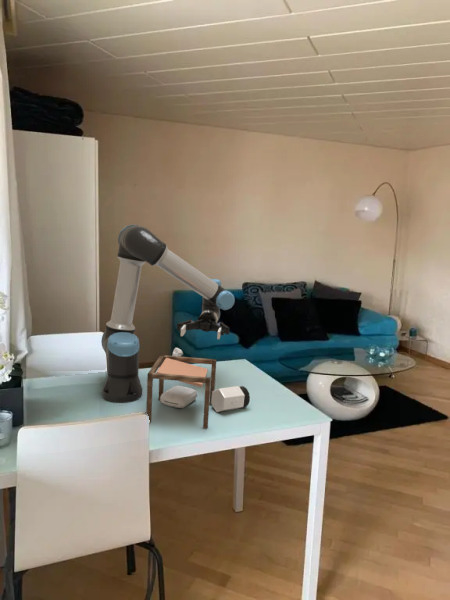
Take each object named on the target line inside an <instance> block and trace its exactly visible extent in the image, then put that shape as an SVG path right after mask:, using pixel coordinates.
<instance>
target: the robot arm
mask: <svg viewBox="0 0 450 600" xmlns="http://www.w3.org/2000/svg"><path fill="white" fill-rule="evenodd" d="M117 241H118V250H117V256H116V257H117V259H118V260H119V267H118V268H119V269H118V274H117V281H116V285H115V292H114V297H113V304H112V310H111V311H112V312H111V317H110V320H108V321H107V322H106V324H105V328H104V332H103V334H102V336H101V341H100V342H101V346H102V349H103V351H104V353H105V355H106V357H107V358H106V359H107V360H106V361H107V368H106V370H107V371H106V373H107V375H106V378H105V381H104V384H103V386H102V390H101V392H102V394H101V396H102V398H103V399H104V400H106V401H109V402H113V403H130V402H134V401H136V400H139V399H141V398H142V397H143V385H142V383H141V379H140V377H139V365H140V364H139V363H140V362H139V360H140V359H139V358H140V347H141V346H140V339H139V337H138V336H137V335H136V334H135V332H136V331H135V330H136V327H135V325H134V324H133V321H134V314H135V308H136V303H137V297H138V292H139V291H138V290H139V286H140V285H139V284H140V280H141V275H142V269H143V265H145V264H146V263H148V264H149V265H150V266H152V267H155V266H157V267H158V268H160V269H161V270H162V271H164V272H165V273H167V274H168V275H170V276H172V277H173V278H174V279H176V280H178V282H180V283H182V284H183V285H185V286H186V287H188V288H190V290H192V291H194V292H195V293H197V294H198V295H200V296H201V297H202V305H201V314H200V315H199V316H198V318H197V320H194V321H193V319H191V318H190V319H188V320H186V321H182V322H178V323H177V324H176V330H177V331H179V332H180V337H183V336H184V335H185V334H186V331H193V330H196V331H197V330H201V331H202V332H206V333H208V332H216V333H217V337H216V339H217V340H220V338H221V336H224V335H230V327H229V326H228V325H227V324H225V323H224V322H223V321H219V319H220V318H221V311H220V310H223V311H227V310H229V309H232V307H233V306H234V305H235V300H236V299H235V295H234V294H233V293H232V292H230V290H226V289H225V287H223V286H222V282H221V280H220V279H216V278H210V277H208V276H207V275H205V274H204V273H203V272H202V271H200V270H199V269H197V268H195V267H194V266H193V265H192V264H190V263H189V262H187V261H186V260H185V259H183V258H182V257H180V256H179V255H177V254H176V253H174V252H173V251H171V250H170V249H169V248H168V245H167V244H166V243H165V242H164V241H162V240H161V239H160V238H159V237H157V236H156V235H155V233H153V232H152V231H151V230H150V229H148V228H146V227H144V226H142V225H138V224H130V225H129V224H128V225H126V226H124V227H123V228H122V229H121V230H120V232H119V234H118V238H117ZM218 321H219V322H218Z"/></svg>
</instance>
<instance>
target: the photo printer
mask: <svg viewBox="0 0 450 600" xmlns="http://www.w3.org/2000/svg"><path fill="white" fill-rule="evenodd" d="M197 398H198V391H197V390H196V389H193V388H191V387H185V386H182V385H174V386H172V387H170V389H167V390H166V391H163V394H162V395H161V397H160V400H159V402H160V403H162V404H163V405H165V406H167V407H168V406H169V407H171V408H177V409H183V408H186V406H188V405H190V404H191V403H193V402H194V401H196V399H197Z"/></svg>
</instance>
